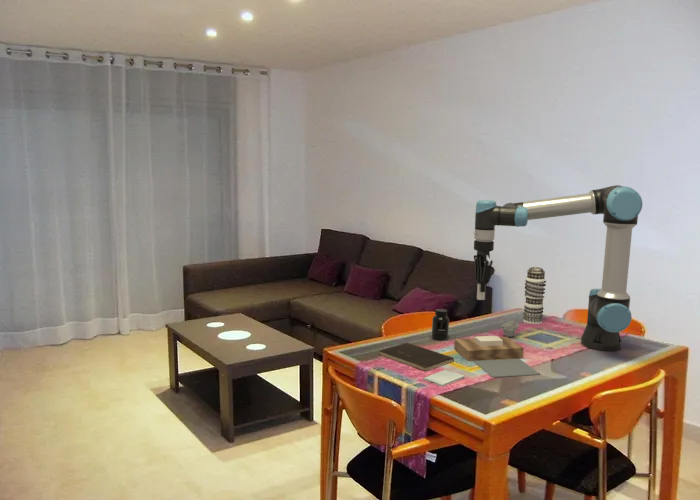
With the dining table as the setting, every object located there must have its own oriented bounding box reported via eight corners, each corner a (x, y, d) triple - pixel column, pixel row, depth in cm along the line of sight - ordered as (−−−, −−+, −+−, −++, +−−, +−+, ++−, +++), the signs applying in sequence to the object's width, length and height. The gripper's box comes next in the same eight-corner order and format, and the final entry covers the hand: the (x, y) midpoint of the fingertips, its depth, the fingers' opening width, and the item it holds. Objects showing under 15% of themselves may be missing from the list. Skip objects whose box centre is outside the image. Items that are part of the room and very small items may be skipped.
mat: (519, 359, 228) (519, 358, 228) (540, 374, 213) (540, 373, 213) (473, 361, 225) (473, 361, 225) (491, 377, 209) (491, 376, 209)
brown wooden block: (506, 346, 243) (507, 336, 242) (522, 358, 229) (523, 347, 229) (454, 348, 239) (454, 339, 238) (467, 361, 225) (468, 350, 225)
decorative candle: (544, 325, 274) (547, 270, 270) (522, 323, 276) (526, 269, 272) (542, 319, 283) (546, 266, 279) (522, 318, 285) (525, 265, 281)
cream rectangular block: (496, 340, 237) (496, 335, 237) (502, 345, 231) (502, 340, 231) (474, 341, 236) (474, 336, 235) (480, 346, 230) (480, 341, 229)
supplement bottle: (440, 341, 247) (441, 313, 246) (428, 337, 253) (429, 309, 251) (451, 338, 252) (452, 310, 250) (439, 334, 257) (440, 307, 255)
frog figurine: (518, 339, 252) (519, 323, 251) (500, 338, 254) (501, 321, 253) (518, 335, 258) (519, 319, 257) (501, 333, 260) (502, 318, 259)
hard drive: (445, 369, 214) (422, 377, 206) (464, 375, 208) (441, 384, 200) (445, 373, 214) (422, 381, 206) (464, 380, 208) (441, 389, 200)
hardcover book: (425, 373, 214) (425, 367, 214) (379, 356, 231) (379, 350, 230) (453, 363, 225) (454, 357, 224) (407, 347, 241) (407, 342, 241)
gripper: (468, 237, 242) (465, 295, 245) (481, 242, 229) (478, 303, 233) (486, 237, 243) (483, 295, 247) (500, 242, 230) (496, 303, 234)
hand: (480, 299), depth 240 cm, fingers closed
